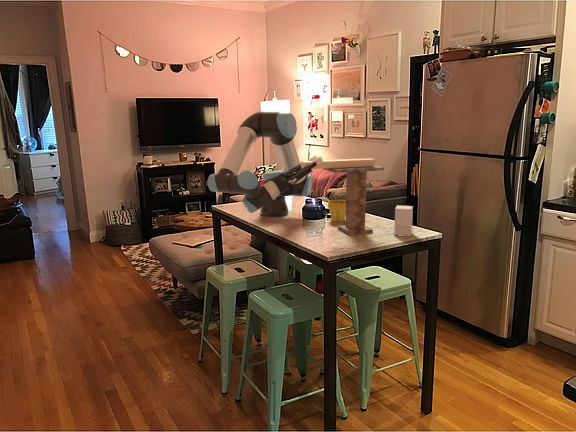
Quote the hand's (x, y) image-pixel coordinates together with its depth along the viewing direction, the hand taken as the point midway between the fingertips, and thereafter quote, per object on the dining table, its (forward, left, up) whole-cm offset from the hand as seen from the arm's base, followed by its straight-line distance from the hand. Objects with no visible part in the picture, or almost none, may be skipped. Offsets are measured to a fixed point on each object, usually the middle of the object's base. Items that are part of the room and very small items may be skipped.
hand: (319, 158), depth 211 cm
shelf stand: (+15, +6, -34) cm, 38 cm away
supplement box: (+38, 0, -35) cm, 52 cm away
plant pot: (+11, +28, -35) cm, 46 cm away
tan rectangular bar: (+9, +3, -4) cm, 10 cm away
